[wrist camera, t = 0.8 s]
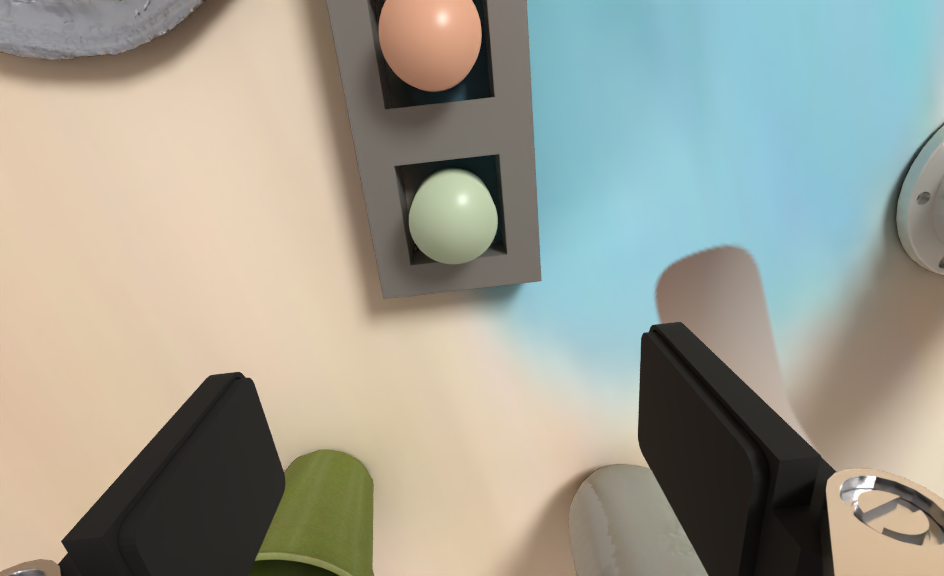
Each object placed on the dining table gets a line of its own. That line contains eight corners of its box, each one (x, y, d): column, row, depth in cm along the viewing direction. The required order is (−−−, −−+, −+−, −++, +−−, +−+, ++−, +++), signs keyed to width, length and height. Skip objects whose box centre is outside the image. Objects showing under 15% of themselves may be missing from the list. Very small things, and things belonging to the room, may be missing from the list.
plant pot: (244, 424, 36) (159, 557, 25) (398, 423, 36) (377, 552, 26) (265, 536, 40) (201, 688, 30) (403, 533, 41) (386, 681, 30)
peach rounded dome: (472, -12, 24) (476, -32, 21) (481, 87, 26) (486, 84, 23) (381, -2, 24) (369, -20, 21) (397, 96, 26) (388, 95, 23)
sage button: (487, 162, 28) (493, 172, 24) (494, 239, 30) (500, 259, 26) (408, 171, 28) (402, 182, 24) (420, 247, 30) (415, 268, 26)
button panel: (500, -301, 22) (507, -360, 19) (533, 265, 32) (541, 280, 29) (286, -277, 22) (262, -333, 19) (389, 281, 32) (383, 298, 29)
